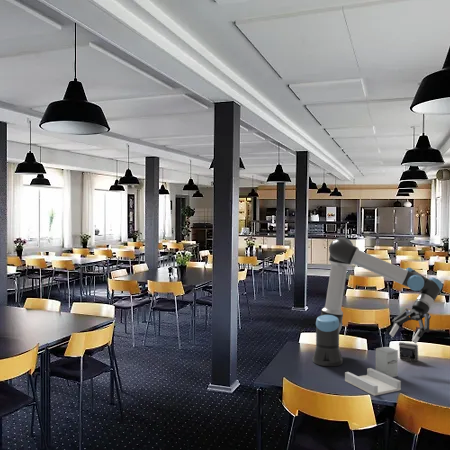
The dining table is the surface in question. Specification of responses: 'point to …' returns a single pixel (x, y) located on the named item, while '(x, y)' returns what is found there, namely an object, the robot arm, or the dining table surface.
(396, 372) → the supplement box
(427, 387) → the dining table surface
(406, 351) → the electrical switch
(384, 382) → the tray
